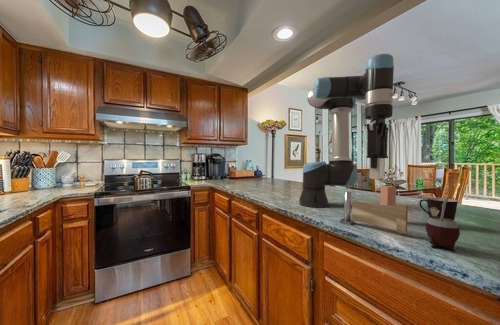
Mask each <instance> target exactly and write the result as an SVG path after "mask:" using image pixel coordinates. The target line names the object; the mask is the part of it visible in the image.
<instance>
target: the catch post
mask: <svg viewBox="0 0 500 325" xmlns="http://www.w3.org/2000/svg"><path fill="white" fill-rule="evenodd" d="M396 199H397V187H396V186H391V185H380V199H379V200H380V203H379V204H383V205H389V206H396V207H397V204H396V203H397V202H396V201H397V200H396Z"/></svg>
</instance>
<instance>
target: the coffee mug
mask: <svg viewBox="0 0 500 325" xmlns="http://www.w3.org/2000/svg"><path fill="white" fill-rule="evenodd" d="M446 198H447V197H446ZM446 198H445V197H437V196H436V197H435V196H430V197H426V198H425V199H424V198H423V199H420V200H419V202H418V204H419V207H420V208H421V209H422V211H424V212H425V213H426V214H427V215H428V217H429V218H430V217H441V212H442V204H443V203H444V201H445V199H446ZM422 202H426V203H427V204H426V205H427V210H428V211H427V210H426V209H425V208H424V207H423V205H422ZM457 208H458V200H457V199H452V198H449V199H448V201H447V202H446V208H445V211H444V217H443V218H447V219H451V220H454V221H455V218H456V213H457ZM429 218H428V219H429Z"/></svg>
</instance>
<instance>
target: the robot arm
mask: <svg viewBox="0 0 500 325" xmlns="http://www.w3.org/2000/svg"><path fill="white" fill-rule="evenodd" d="M394 70H395V66H394V57H393V55H392V54H390V53H379V54H376V55H373V56H370V57H369V58H368V59H367V61H366V63H365V73H363V75H353V76H352V75H349V76H330V77H329V76H324V77H317V78H316V79H315V81H314V84H313V85H314V88H312V89H311V90H310V91H309V93H308V95H307V102H308V104H309V105H310V106H311V107H313V108H315V109H319V110H328V114H330V115H331V158H330V159H329V161H328V163H326V161H325V160H324V161H323V160H322V161H314V162H308V163H304V164H303V166H302V191H301V194H300V197H299V201H298V202H299V203H298V204H299V205H300V206H303V207H310V208H327V207H329V199H328V196H327V193H326V186H330V187H352V186H353V185H354V184H355V182H356V179H357V177H358V167H357V165H356V164H354V161H353V160H352V159H351V158H350V118H349V116H350V113H351V112H352V109H354V108H355V107H356V101H357V100H359V101H363V100H364V106H365V108H364V109H365V110H364V118H365V119H366V120H368V121H369V120H370V123H367V124H366V133H367V134H366V138H367V139H366V140H367V141H366V158H367V159H369V175H368V177H369V179H371V180H380V179H385V177H386V176H385V169H386V168H385V167H386V164H385V163H386V160H385V159H388V158H389V156H388V138H389V136H388V134H389V127H388V124H387V123H386V119H391V117H392V116H393V110H394V109H393V105H392V103H393V99H394V98H393V96H395V95H396V94H395V92H393V90H394Z"/></svg>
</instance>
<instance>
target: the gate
mask: <svg viewBox="0 0 500 325" xmlns="http://www.w3.org/2000/svg"><path fill="white" fill-rule="evenodd" d="M408 207H409V205H408V204H403V203H398V204H396V206H389V205H383V204H380V203H374V202H368V201H361V200H354V199H353V200H351V220H352V221H355V222H358V223H362V224H367V225H371V226H375V227H381V228H383V229H384V228H385V229H390V230H395V231H396V233H399V234H403V235H406V234H407V233H408V215H409V214H408V212H409V210H408Z"/></svg>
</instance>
